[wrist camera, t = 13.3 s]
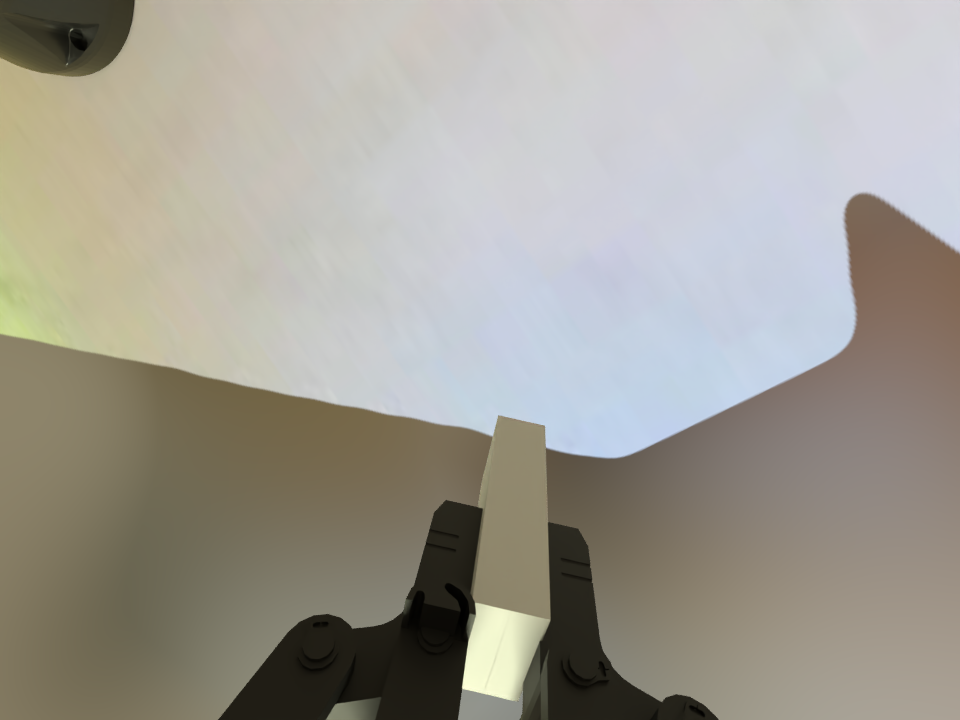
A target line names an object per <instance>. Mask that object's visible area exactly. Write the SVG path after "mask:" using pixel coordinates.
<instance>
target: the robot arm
mask: <svg viewBox="0 0 960 720" xmlns="http://www.w3.org/2000/svg"><path fill="white" fill-rule="evenodd" d="M132 14H133V0H0V58H2V59H4V60H7V61H9V62H11V63H13V64H15V65H17V66H20V67H23V68H26V69H29V70H32V71H36V72H41V73H47V74H54V75H61V76H71V77H74V76H85V75H89V74H92V73H95V72H97V71H99V70H101V69H103V68H104V67H106V66H107V65H108V64H110V63H111V62H112V61H113V60H114V58H115V57H116V56H117V55H118V53H119V52H120V50H121V49H122V47H123V45H124V43H125V41H126V39H127V36H128V33H129V30H130V26H131V21H132ZM462 689H466V690H471V691H475V692H479V693H483V694H488V695H493V696H497V697H501V698H505V699H509V700H513V701H518V700H519V698H520V695H521V693H522V690H523V712H522V715H521V718H520V720H718V718H717V717H716V716H715V715H714V714H713V713H712V712H711V711H710V710H709V709H708V708H707V707H706V706H704V705H703V704H701V703H699V702H698V701H696V700H694V699H693V698H691V697H687V696H682V695H677V694H676V695H673V696H670V697H666V698H665V699H664V701H663V702H660V701H658V700H657V699H655V698H653V697H652V696H650V695H648V694H646V693H645V692H643V691H641V690H640V689H638V688H636V687H635V686H633V685H631V684H630V683H629V682H627V681H626V680H624V679H623V678H622V677H621V676H620V675H619V674H618V673H617V672H616V671H615V670H614V669H613V667H612V665H611V662H610V661H609V660H608V658H607V657H606V655H605V654H604V652H603V650H602V646H601V642H600V637H599V629H598V622H597V613H596V606H595V598H594V590H593V583H592V574H591V568H590V558H589V550H588V545H587V544H586V542H585V540H584V538H583V537H582V535H581V533H580V531H579V530H578V529H576V528H572V527H567V526H563V525H559V524H554V523H550V522H548V515H547V480H546V444H545V426H543V425H539V424H534V423H530V422H526V421H521V420H517V419H512V418H508V417H503V416H499V415H498V419H497V423H496V427H495V431H494V435H493V439H492V443H491V447H490V451H489V455H488V459H487V464H486V468H485V471H484V476H483V480H482V485H481V491H480V497H479V503H478V507H474V506H470V505H465V504H461V503H457V502H452V501H447V500H446V501H445V502H444V503H443V504H442V505H441V506H440V507H439V508H438V509H437V510H436V511H435V512H434V516H433V519H432V522H431V526H430V530H429V533H428V537H427V541H426V545H425V548H424V551H423V555H422V559H421V562H420V566H419V570H418V573H417V577H416V580H415V584H414V586H413V587H412V588H411V590H410V592H409V594H408V596H407V598H406V601H405V607H404V610H403V612H402V613H401V614H400V615H398V616H397V617H396V618H395V619H394V620H392V621H389V622H387V623H385V624H382V625H378V626H374V627H365V628H356V629H352V628H351V626H350V625H349V624H348V623H347V622H345V621H344V620H343V619H342V618H340V617H336V616H332V615H329V614H325V615H314V616H312V617H309V618H307V619H305V620H303V621H301V622H299V623H298V624H297V625H296V626H295V627H293V628H292V629H291V630H290V631H289V632H288V633H287V634H286V636H285V637H284V638H283V639H282V641H281V642H280V643H279V644H278V646H277V647H276V648H275V649H274V651H273V652H272V653H271V654H270V656H269V657H268V658H267V659H266V661H265V662H264V663H263V664H262V666H261V667H260V668H259V670H258V671H257V672H256V673H255V675H254V676H253V677H252V678H251V679H250V681H249V682H248V683H247V684H246V686H245V687H244V688H243V689H242V691H241V692H240V693H239V694H238V696H237V697H236V698H235V699H234V701H233V702H232V703H231V705H230V706H229V707H228V708H227V709H226V711H225V712H224V713H223V715H222V716H221V717H220V718H219V719H218V720H458V715H459V707H460V700H461V693H462Z"/></svg>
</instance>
